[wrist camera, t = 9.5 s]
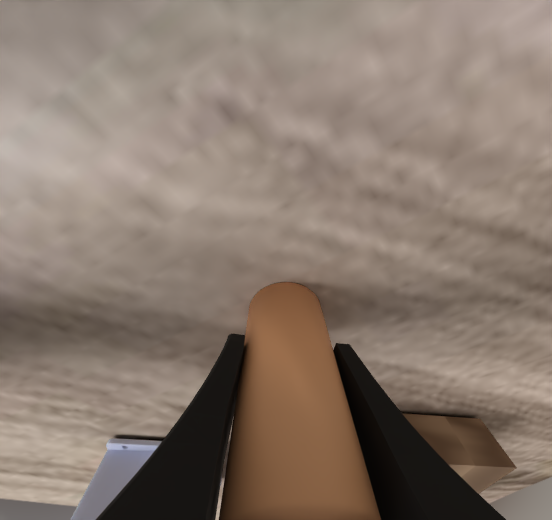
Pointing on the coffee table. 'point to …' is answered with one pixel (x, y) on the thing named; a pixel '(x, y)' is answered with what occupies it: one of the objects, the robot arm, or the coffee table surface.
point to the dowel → (293, 420)
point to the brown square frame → (465, 448)
